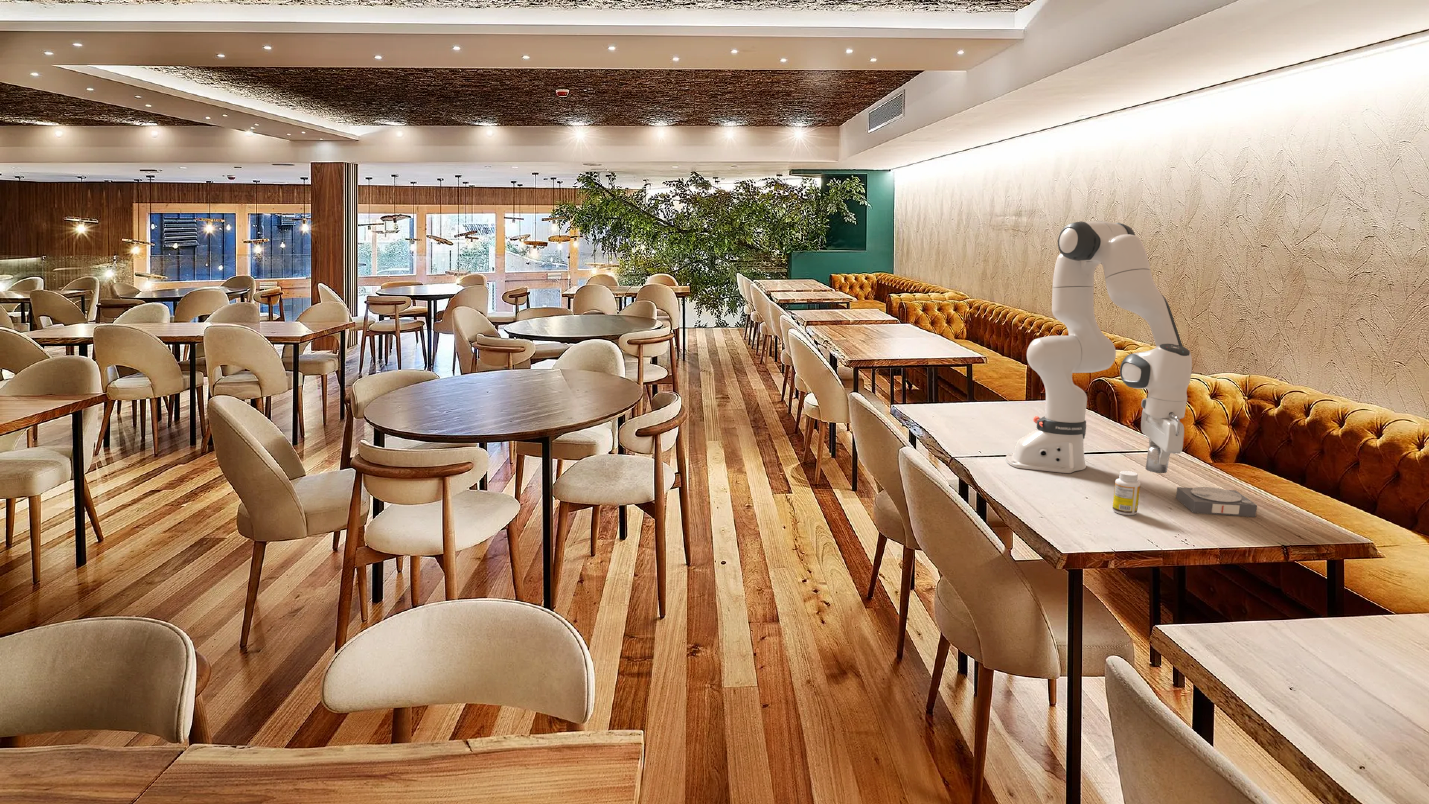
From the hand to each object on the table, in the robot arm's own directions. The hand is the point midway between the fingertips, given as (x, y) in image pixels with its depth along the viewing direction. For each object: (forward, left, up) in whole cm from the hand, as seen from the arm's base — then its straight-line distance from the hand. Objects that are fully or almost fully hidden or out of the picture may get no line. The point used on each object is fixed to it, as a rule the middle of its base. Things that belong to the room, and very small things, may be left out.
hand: (1157, 459), depth 210 cm
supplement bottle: (-11, -13, -11) cm, 20 cm away
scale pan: (+13, -4, -8) cm, 16 cm away
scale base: (+13, -4, -11) cm, 17 cm away
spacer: (0, 0, -3) cm, 3 cm away
